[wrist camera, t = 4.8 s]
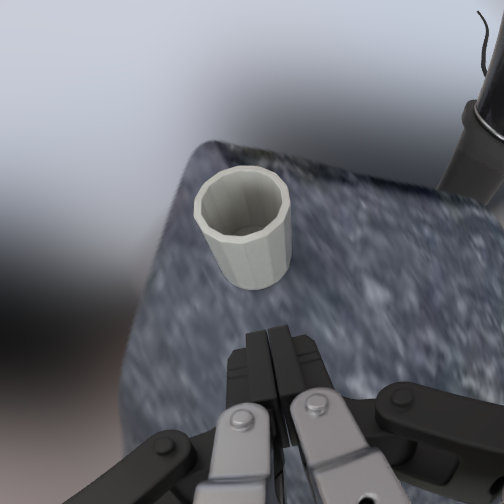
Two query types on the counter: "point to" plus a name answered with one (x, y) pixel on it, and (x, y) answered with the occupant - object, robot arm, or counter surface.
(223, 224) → the pot
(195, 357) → the counter surface
